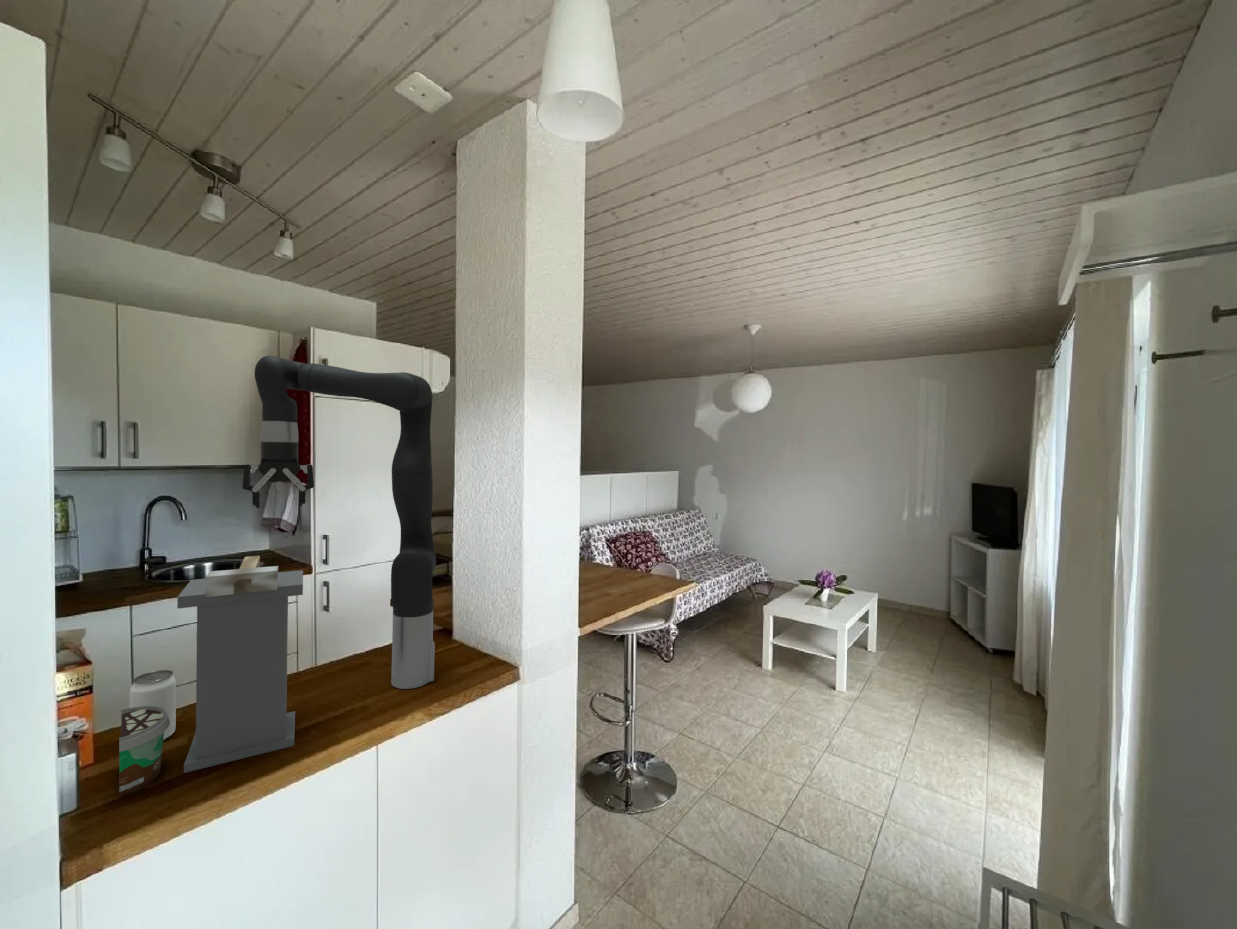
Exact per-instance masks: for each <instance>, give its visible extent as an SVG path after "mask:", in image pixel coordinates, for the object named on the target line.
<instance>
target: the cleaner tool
mask: <svg viewBox="0 0 1237 929" xmlns="http://www.w3.org/2000/svg"><path fill="white" fill-rule="evenodd" d="M260 562H261V556H260V555H252V556H244V558H243V560H242V563H241V564H240V566H239V568H236V569H225V570H214V571H213V570H212V571H211V570H210V571H209V572H208V574H207V575H206V577H205V579H206V597H211V596H221V595H231V594H240V593H250V592H260V591H270V590H277V587H278V572H279V566H278V565H276V566H275V565H273V566H263V567H261V563H260Z"/></svg>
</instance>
